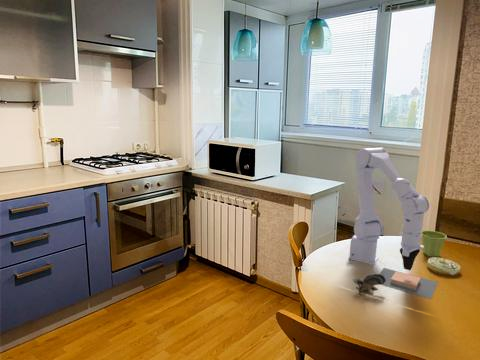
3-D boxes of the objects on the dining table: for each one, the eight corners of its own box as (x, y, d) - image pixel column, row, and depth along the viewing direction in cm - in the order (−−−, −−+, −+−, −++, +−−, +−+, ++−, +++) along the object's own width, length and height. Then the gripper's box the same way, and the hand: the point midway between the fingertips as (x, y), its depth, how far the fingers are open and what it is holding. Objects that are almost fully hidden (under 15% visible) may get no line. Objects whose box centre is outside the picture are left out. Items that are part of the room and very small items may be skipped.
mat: (372, 283, 124) (372, 282, 124) (383, 268, 135) (383, 267, 135) (431, 300, 113) (431, 299, 113) (437, 283, 124) (438, 282, 124)
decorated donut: (458, 280, 127) (459, 270, 126) (424, 272, 133) (425, 262, 132) (460, 269, 135) (461, 260, 134) (428, 262, 141) (429, 253, 140)
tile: (395, 275, 129) (390, 283, 123) (395, 271, 128) (390, 278, 123) (419, 282, 124) (415, 290, 119) (420, 277, 124) (416, 285, 118)
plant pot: (420, 247, 155) (423, 228, 153) (445, 253, 150) (448, 233, 148) (416, 255, 147) (418, 235, 146) (442, 261, 142) (445, 240, 140)
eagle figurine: (374, 299, 111) (391, 286, 116) (362, 278, 112) (379, 266, 117) (357, 301, 118) (373, 289, 122) (346, 281, 119) (363, 269, 124)
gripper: (421, 240, 113) (416, 280, 116) (429, 228, 124) (424, 264, 127) (397, 235, 117) (392, 274, 120) (407, 223, 128) (402, 259, 131)
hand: (407, 268), depth 124 cm, fingers closed
